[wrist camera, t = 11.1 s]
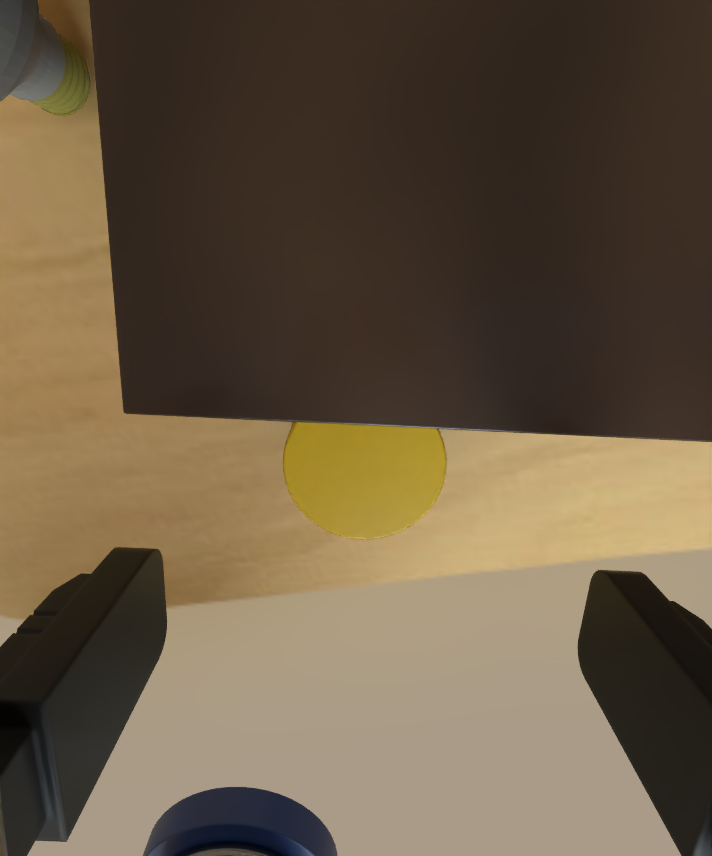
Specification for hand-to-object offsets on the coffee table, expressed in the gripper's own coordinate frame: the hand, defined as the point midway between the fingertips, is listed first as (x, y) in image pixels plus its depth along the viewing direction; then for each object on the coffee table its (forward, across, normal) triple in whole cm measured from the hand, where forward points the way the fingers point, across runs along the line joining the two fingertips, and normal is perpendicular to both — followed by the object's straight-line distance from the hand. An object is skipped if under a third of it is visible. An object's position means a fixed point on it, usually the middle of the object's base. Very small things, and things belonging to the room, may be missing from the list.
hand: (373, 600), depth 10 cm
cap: (+11, 0, 0) cm, 11 cm away
